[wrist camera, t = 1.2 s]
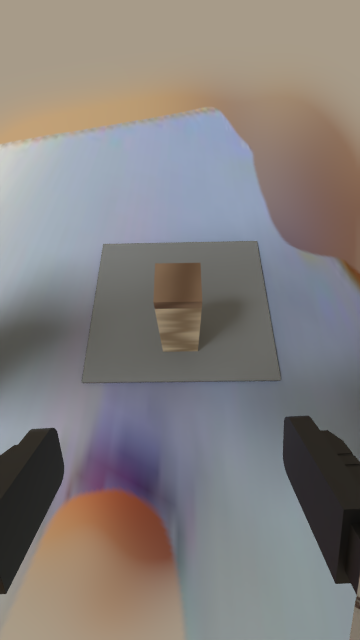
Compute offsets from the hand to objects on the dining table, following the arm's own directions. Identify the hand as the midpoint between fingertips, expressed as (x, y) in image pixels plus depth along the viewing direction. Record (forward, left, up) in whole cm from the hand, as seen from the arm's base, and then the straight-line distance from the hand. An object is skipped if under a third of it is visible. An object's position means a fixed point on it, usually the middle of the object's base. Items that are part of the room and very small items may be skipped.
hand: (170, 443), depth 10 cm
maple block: (0, +15, -23) cm, 27 cm away
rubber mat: (0, +20, -24) cm, 31 cm away
